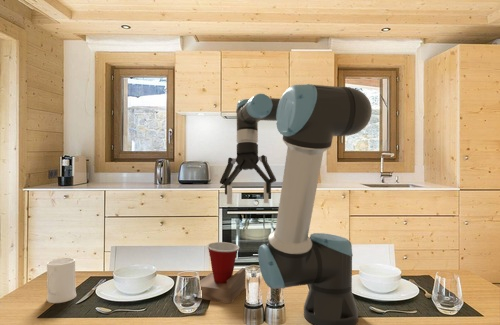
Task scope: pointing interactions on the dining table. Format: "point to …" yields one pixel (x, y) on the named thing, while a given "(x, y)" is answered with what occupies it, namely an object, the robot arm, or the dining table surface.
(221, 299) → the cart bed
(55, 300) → the mug
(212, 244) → the plastic cup
